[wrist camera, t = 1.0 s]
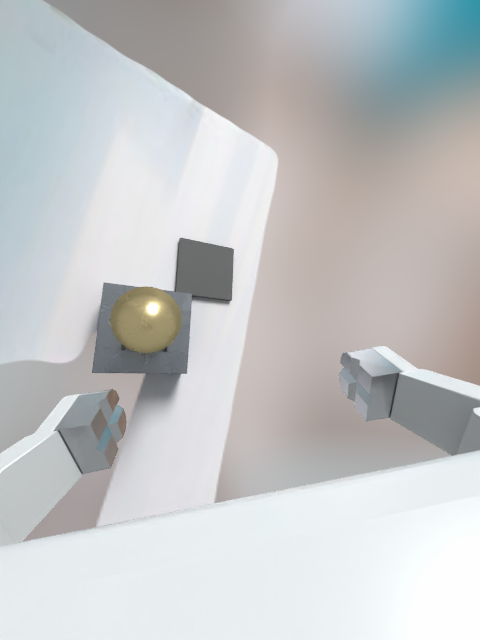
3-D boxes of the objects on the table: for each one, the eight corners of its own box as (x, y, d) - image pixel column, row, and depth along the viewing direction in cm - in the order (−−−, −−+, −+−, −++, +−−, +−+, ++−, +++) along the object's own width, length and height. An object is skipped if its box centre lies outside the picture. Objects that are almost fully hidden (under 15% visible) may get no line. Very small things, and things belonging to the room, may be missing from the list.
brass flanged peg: (119, 353, 35) (105, 351, 23) (124, 307, 36) (114, 282, 24) (167, 355, 37) (179, 354, 25) (171, 312, 38) (183, 291, 26)
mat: (175, 293, 41) (175, 292, 40) (179, 239, 43) (180, 237, 42) (230, 300, 45) (231, 299, 44) (232, 250, 46) (233, 248, 46)
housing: (98, 370, 35) (92, 372, 31) (108, 291, 37) (103, 282, 33) (181, 371, 40) (186, 373, 35) (186, 300, 42) (192, 293, 37)
